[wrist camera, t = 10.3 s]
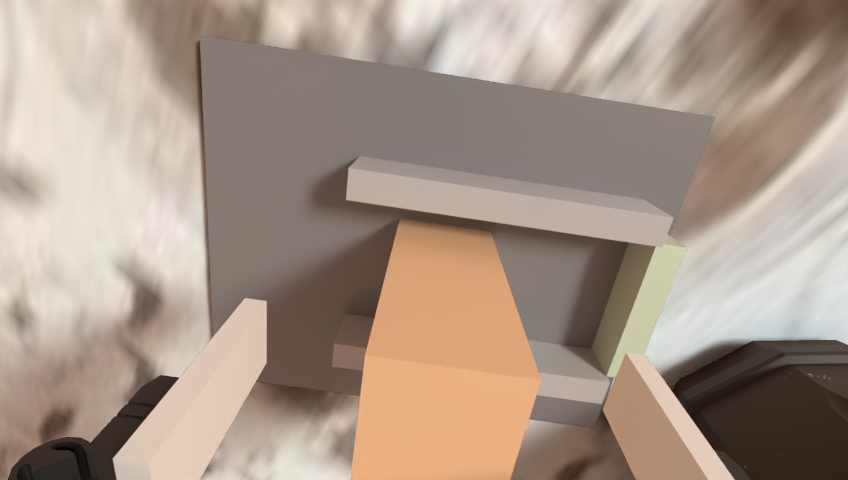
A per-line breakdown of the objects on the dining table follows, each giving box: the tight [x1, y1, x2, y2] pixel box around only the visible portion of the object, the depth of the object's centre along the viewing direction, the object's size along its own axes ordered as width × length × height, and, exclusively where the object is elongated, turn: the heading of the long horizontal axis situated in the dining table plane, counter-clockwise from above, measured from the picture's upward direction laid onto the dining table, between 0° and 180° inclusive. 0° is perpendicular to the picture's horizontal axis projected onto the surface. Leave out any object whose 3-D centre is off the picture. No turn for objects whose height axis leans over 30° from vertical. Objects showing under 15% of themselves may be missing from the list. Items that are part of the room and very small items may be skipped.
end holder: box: [200, 35, 715, 428], centre depth 23 cm, size 20×25×4 cm
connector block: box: [351, 218, 541, 480], centre depth 18 cm, size 5×5×12 cm
